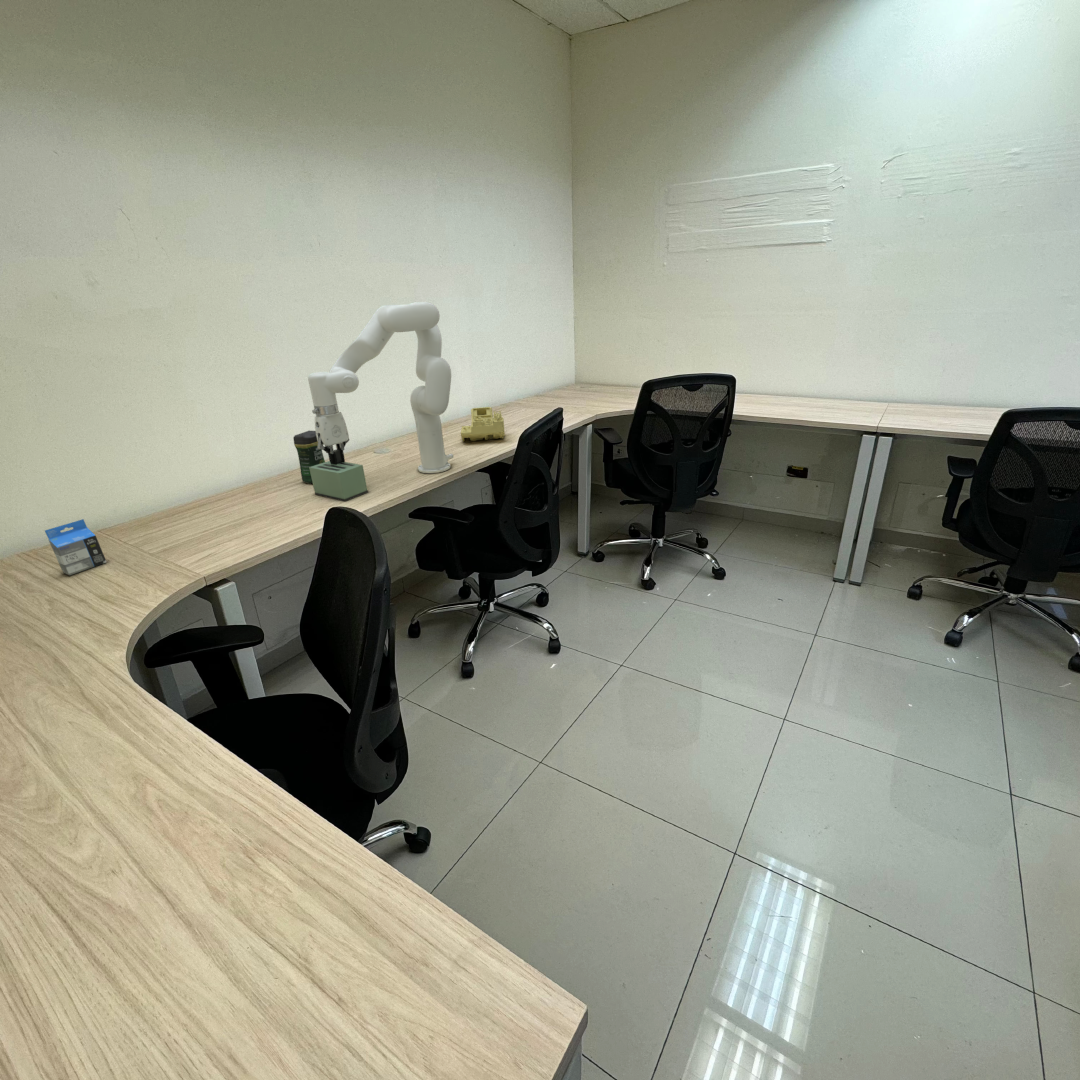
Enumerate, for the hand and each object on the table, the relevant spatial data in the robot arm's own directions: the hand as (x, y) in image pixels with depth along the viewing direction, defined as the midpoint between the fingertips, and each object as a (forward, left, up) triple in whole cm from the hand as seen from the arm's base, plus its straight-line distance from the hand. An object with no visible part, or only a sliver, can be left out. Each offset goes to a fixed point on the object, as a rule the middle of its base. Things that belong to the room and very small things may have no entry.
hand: (337, 462), depth 194 cm
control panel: (-79, +2, -10) cm, 80 cm away
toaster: (+3, +3, -10) cm, 11 cm away
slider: (0, 0, 0) cm, 0 cm away
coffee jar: (-3, -19, -10) cm, 22 cm away
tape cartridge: (+75, -13, -10) cm, 77 cm away
